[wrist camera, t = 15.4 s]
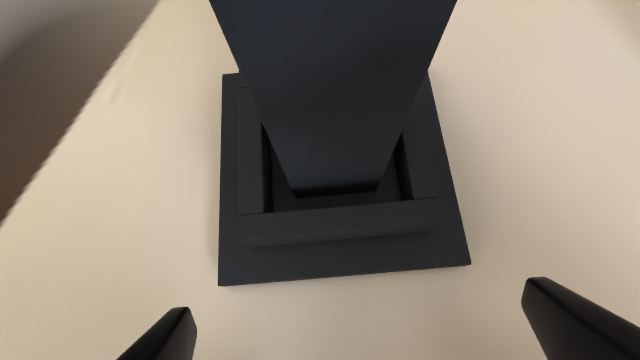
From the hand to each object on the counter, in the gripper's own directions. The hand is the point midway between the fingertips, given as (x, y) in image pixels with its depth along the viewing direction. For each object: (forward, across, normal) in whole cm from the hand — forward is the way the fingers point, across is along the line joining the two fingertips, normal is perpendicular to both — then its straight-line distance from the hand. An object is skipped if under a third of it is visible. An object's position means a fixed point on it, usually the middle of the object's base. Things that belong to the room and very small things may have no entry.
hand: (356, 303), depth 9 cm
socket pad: (+12, 0, +1) cm, 12 cm away
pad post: (+11, 0, 0) cm, 11 cm away
